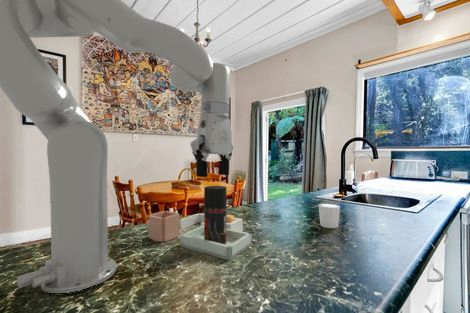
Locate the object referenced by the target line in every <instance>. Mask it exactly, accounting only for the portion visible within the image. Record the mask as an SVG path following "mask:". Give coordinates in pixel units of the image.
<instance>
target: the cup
mask: <svg viewBox="0 0 470 313" xmlns="http://www.w3.org/2000/svg"><path fill="white" fill-rule="evenodd" d="M177 237H180V213H179V212H176V211H175V212H174V211H170V210H166V211H165V210H163V211H159V212H155V213H150V214H149V215H148V239H151V241H153V242H158V243H159V242H160V243H161V242H162V243H163V242H164V243H165V242H169V241H172V240H174V239H176V238H177Z"/></svg>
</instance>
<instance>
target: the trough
mask: <svg viewBox="0 0 470 313" xmlns="http://www.w3.org/2000/svg"><path fill="white" fill-rule="evenodd" d="M252 245H253V234H252V233H249V232H245V231H243V232H241V231H236V230H231V229H226V244H221V243H217V242H213V241H208V240H204V225H203V226H201V227H200V226H199V227H197V228H195V229H194V228H193V229H192V230H189V231H187V232H184V233H182V234H179V247H181V248H183V249H184V248H185V249H188V250H192V251H195V252H198V253H201V254H206V255H210V256H212V257H215V258H219V259H222V260H227V261H232V260H233V259H235V258H236V257H237V256H239V255H240V254H241V253H243V252H244V251H246V250H247V249H248V248H249V247H251V246H252Z"/></svg>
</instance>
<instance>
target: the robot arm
mask: <svg viewBox="0 0 470 313" xmlns="http://www.w3.org/2000/svg"><path fill="white" fill-rule="evenodd" d="M95 33H96V34H98V35H100V36H101V37H102V38H104V39H106V40H107V41H109V42H110V43H111V44H113V45H115V47H118V48H119V49H120V50H122V51H124V52H127V53H149V54H153V55H157V56H159V57H161V58H163V59H165V60H167V61H168V62H170V63H171V64H172V65H173V67H172V68H171V70H170V72H169V79H170V82H171V84H172V86H173V87H175V89H177V90H179V91H182V92H187V93H188V92H197V93H198V92H200V93H201V98H200V100H201V101H200V102H201V104H200V109H201V110H200V117H199V120H198V128H197V135H196V136H197V138H196V139H194V140H193V141H191V142H190V149H191V150H192V155H193V156H194V161H196V171H195V172H196V174H195V176H196V177H199V178H207V177H208V171H209V170H208V167H209V162H208V158H209V156H210V155H218V157H219V161H218V174H219V175H220V176H229V175H230V161H231V157H232V156H233V150H234V145H233V144H232V143H233V140H232V137H233V136H232V124H231V119H230V95H231V93H230V92H231V72H230V68H229V67H228V66H227V65H226V64H224V63H219V62H213V60H212V58H211V56H210V55H209V53H208V52H207V51H206V49H205V48H204V47H202V45H200V44H199V43H198V42H197V41H196V40H194V39H193V38H192V37H190V36H189V35H188V34H187V33H185V32H183V31H182V30H180V29H179V28H176V27H174V26H171V25H170V24H167V23H163V22H161V21H159V20H153V19H149V18H147V17H144V16H143V15H141V14H140V13H138V12H137V11H136V10H135V9H133V8H132V7H130V6H129V4H127V3H125V2H124V1H122V0H0V88H1V90H2V92H4V95H6V97H7V98H8V99H9V101H10V102H11V103H12V105H13V107H14V108H15V110H17V111H18V112H19V113H20V114H21V115H23V116H24V117H26V118H27V119H29V120H30V121H31V122H32V123H33V124H34V125H35V126H36V128H37V129H38V130H39V131H40V132H41V134H42V135H43V136H44V138H46V140H47V146H46V148H47V149H46V153H47V155H46V156H47V163H48V174H49V204H50V243H51V245H50V250H51V251H50V252H51V253H50V256H51V258H50V259H47V260H45V262H44V266H41V267H39V270H36V271H33V272H27V273H25V274H22V275H19V276H17V278H16V284H17V288H18V289H21V288H23V287H26V286H29V285H31V286H32V288H36V287H39V286H40V289H41V290H43V291H42V292H44V291H45V292H44V293H46V292H49V293H68V292H74V291H78V290H82V289H86V288H89V287H91V286H94V285H96V286H98V285H101V284H102V283H104V282H106V281H107V280H109V279H110V278H111V277H112V276H114V274H115V272H116V271H117V262H116V261H115V260H114V259H113V258H110V257H109V229H108V228H109V227H108V226H109V224H108V222H109V221H108V220H109V219H108V218H109V217H108V216H109V215H108V210H109V209H108V158H109V157H108V156H109V155H108V154H109V152H108V151H109V149H108V140H107V137H106V135H105V133H104V131H102V129H101V128H100V127H99V126H98V125H97V124H95V123H93V122H92V121H91V120H90V118H89V117H88V116H87V114H86V112H85V111H84V110H83V109H82V107H81V106H80V104H79V103H78V102H77V100H76V99H75V98H74V95H73V93H72V92H71V89H70V88H69V87H68V85H67V84H66V83H65V82H64V81H63V79H61V78H60V76H59V75H58V74H57V73H56V72H55V71H54V69H53V68H52V67H51V66H50V64H49V63H48V61H47V60H46V58H44V56H43V55H42V53H41V52H40V51H39V49H38V48H37V46H36V45H35V43H34V42H33V40H32V39H31V38H73V37H74V38H75V37H83V36H84V37H85V36H90V35H93V34H95ZM100 283H101V284H100ZM97 284H98V285H97ZM94 287H95V286H94ZM91 288H92V287H91ZM89 289H90V288H89ZM86 290H87V289H86ZM82 291H83V290H82ZM49 293H48V294H49ZM74 293H75V292H74Z"/></svg>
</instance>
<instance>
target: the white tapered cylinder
mask: <svg viewBox="0 0 470 313" xmlns="http://www.w3.org/2000/svg"><path fill="white" fill-rule="evenodd" d="M318 212H319V215H318V216H319V222H320V226H321V227H323V228H326V229H337V228H339V220H340V212H341V206H340V205H338V204H335V203H319V204H318Z"/></svg>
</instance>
